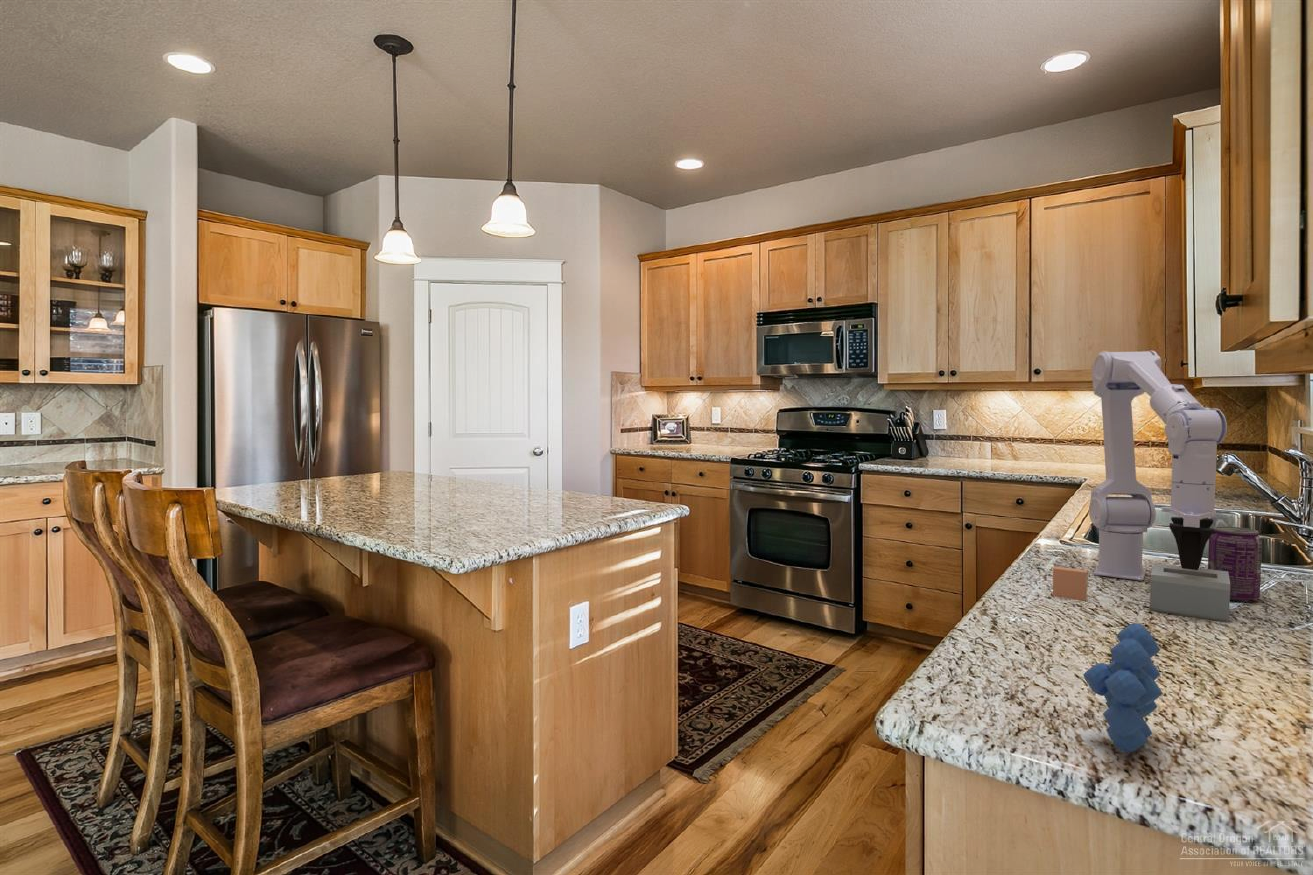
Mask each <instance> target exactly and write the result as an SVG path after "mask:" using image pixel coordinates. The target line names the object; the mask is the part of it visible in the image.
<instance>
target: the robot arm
mask: <svg viewBox="0 0 1313 875" xmlns="http://www.w3.org/2000/svg"><path fill="white" fill-rule="evenodd" d="M1091 374H1092V375H1091V376H1092V388H1093V395H1095V396H1097V397H1099V398H1101V399H1100V402H1101V414H1102V429H1103V430H1102V431H1103V448H1104V449H1103V450H1104V451H1103V452H1104V463H1105V464H1104V466H1105V469H1104V470H1105V480H1104V481H1103V482H1101V483H1100V484H1098V485H1097V486H1095V487H1093V489H1091V491H1090V503H1089V506H1088V515H1089V520H1090V522H1091V523H1092V524H1093V526H1095V528H1097V529H1098V530H1099V532H1098V564H1097V566H1096V568H1095V570H1094V571H1093V574H1094V575H1095V576H1103V577H1109V578H1110V577H1112V578H1117V579H1126V580H1133V581H1144V578H1145V575H1146V572H1147V570H1146V569H1145V568H1143V553H1144V552H1143V551H1144V550H1143V547H1144V546H1143V545H1144V533H1148V529H1150V528H1151V527H1152V526H1153V525H1154V523H1155V521H1156V517H1157V516H1156V514H1157V512H1156V507H1155V504H1154V502H1153V498H1152V493H1151V490H1150V489H1149V488H1148V487H1147V486H1145V485H1144V484H1142V483H1141V482H1139V481H1138V480H1137V470H1136V457H1135V456H1136V455H1135V441H1134V439H1135V438H1134V427H1133V426H1134V424H1133V410H1132V408H1133V406H1132V402H1133V400H1134V399H1135V398H1136V397H1139V396H1142V395H1144V394H1145V393H1146V394H1147V395H1149V396H1148V397H1150V398H1149V405H1150V408H1151V409H1152V410H1153V411H1154V412H1155V414H1157V416H1158V417H1159V419H1160V420H1161V421H1162V422H1163V423H1164V424H1165V425H1164V431H1165V436H1166V439H1167V440H1166V441H1167V443H1168V452H1169V454H1170V455H1172V456H1171V482H1170V484H1171V485H1170V486H1171V488H1170V506H1162V507H1161V512H1162V513H1170V514H1171V515H1174V516H1172V517H1170V521H1172V522H1171V523H1169V525H1168V527H1169V530H1170V531H1171V534H1172V535H1173V537H1174V540H1175V542H1176V545H1177V546H1176V547H1177V551H1178V559H1179V563H1180V566H1181V567H1182V568H1183V569H1191V570H1198V569H1199V568H1200V566H1201V562H1202V561H1203V556H1204V550H1205V547H1206V545H1207V544H1208V542H1209V538H1210V536H1211V535H1212V533H1213V532H1214V529H1213V528H1211V526H1212V525H1213V524H1214V519H1213V517H1216V516H1217V511H1216V509H1215V508H1216V507H1215V506H1216V504H1215V503H1216V502H1215V501H1216V483H1217V481H1216V480H1217V479H1216V478H1217V477H1216V476H1217V458H1218V456H1217V454H1218V451H1217V450H1218V449H1217V448H1218V445H1219V444H1221V443H1222V442H1223V441H1224V439H1225V438H1226V435H1227V430H1228V422H1227V419H1226V416H1225V414H1224V413H1223V412H1222V411H1221V409H1219V408H1210V407H1205V406H1203V405H1202V404H1201V403H1200V402H1199V401H1198V400H1197V399H1196V398H1195V397H1194V396H1193V395H1192V394H1191V393H1190V392H1189V391H1188V390H1187V388H1186V387H1185V386H1184V385H1183V384H1176V383H1175V384H1174V383H1173V384H1172V383H1171V382H1170V381H1169V379H1168V378H1167V376H1166V375H1165V374H1164V373H1163V371H1162V358H1161V357H1160V355H1159V354H1158V353H1157V352H1156V351H1154V350H1147V351H1145V350H1144V351H1107V350H1103V351H1100V352H1099V353H1098V354H1097V355H1096V357H1095V359H1094V362H1093V364H1092V368H1091ZM1109 495H1112V496H1109ZM1113 495H1117V496H1113ZM1121 495H1122V496H1121Z"/></svg>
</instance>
